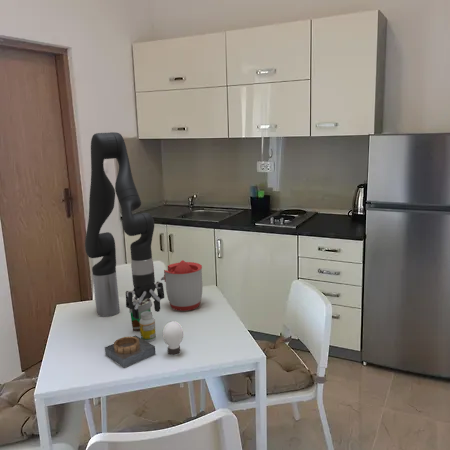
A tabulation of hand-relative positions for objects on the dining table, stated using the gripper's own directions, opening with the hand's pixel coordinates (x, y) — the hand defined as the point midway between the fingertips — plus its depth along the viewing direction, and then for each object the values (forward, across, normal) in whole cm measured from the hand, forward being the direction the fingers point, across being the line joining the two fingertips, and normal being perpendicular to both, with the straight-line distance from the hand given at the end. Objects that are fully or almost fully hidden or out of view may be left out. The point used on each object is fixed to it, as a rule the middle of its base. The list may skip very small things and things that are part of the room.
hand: (147, 314), depth 165 cm
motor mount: (+9, +11, +6) cm, 15 cm away
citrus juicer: (+9, -27, -15) cm, 32 cm away
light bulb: (+10, 0, +15) cm, 18 cm away
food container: (+9, -5, -10) cm, 15 cm away
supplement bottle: (+9, 0, 0) cm, 9 cm away
